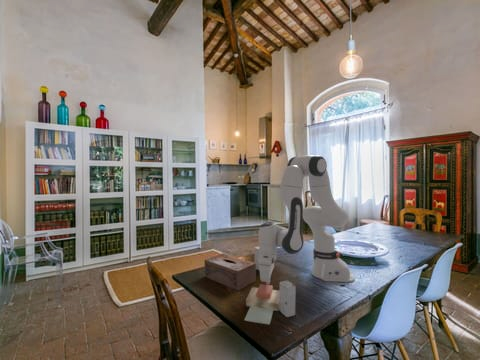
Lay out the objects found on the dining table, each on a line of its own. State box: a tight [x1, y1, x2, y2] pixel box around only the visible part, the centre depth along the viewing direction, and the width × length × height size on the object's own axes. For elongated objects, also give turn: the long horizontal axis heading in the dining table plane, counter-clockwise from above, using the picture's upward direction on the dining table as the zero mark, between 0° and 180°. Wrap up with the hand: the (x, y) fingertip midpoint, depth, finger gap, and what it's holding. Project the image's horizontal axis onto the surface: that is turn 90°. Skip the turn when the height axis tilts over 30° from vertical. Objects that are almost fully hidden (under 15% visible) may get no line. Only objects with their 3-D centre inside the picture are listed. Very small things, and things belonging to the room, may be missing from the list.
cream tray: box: [245, 286, 280, 312], centre depth 107 cm, size 14×12×3 cm
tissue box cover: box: [204, 253, 257, 291], centre depth 131 cm, size 26×14×10 cm, turn 48°
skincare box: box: [278, 280, 297, 318], centre depth 98 cm, size 6×4×12 cm
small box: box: [254, 246, 260, 272], centre depth 145 cm, size 8×6×13 cm
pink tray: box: [256, 283, 274, 299], centre depth 108 cm, size 9×6×2 cm, turn 164°
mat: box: [244, 306, 274, 326], centre depth 96 cm, size 10×10×1 cm
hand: (268, 283), depth 117 cm, fingers closed
